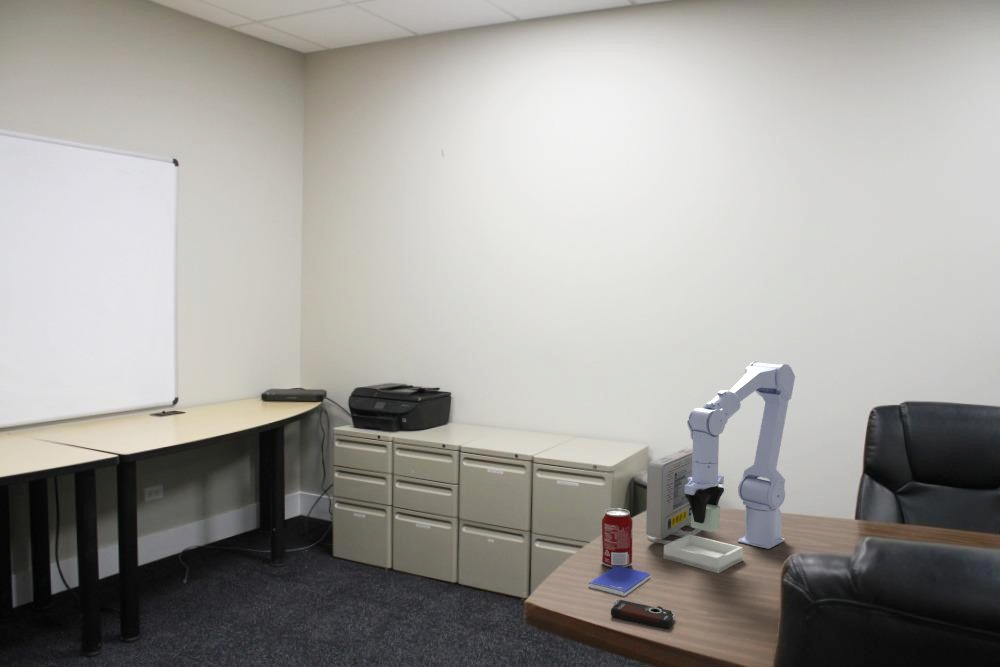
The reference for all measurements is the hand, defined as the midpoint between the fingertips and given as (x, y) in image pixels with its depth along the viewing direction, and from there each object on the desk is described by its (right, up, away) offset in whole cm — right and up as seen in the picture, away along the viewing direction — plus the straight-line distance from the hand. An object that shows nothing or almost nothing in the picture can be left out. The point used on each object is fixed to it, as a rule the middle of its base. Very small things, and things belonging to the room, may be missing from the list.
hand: (703, 520), depth 175 cm
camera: (-20, -11, -32) cm, 39 cm away
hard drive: (-21, -10, -14) cm, 28 cm away
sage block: (0, -2, 0) cm, 2 cm away
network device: (-2, -8, +20) cm, 21 cm away
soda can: (-20, -9, -4) cm, 23 cm away
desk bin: (0, -9, 0) cm, 9 cm away
